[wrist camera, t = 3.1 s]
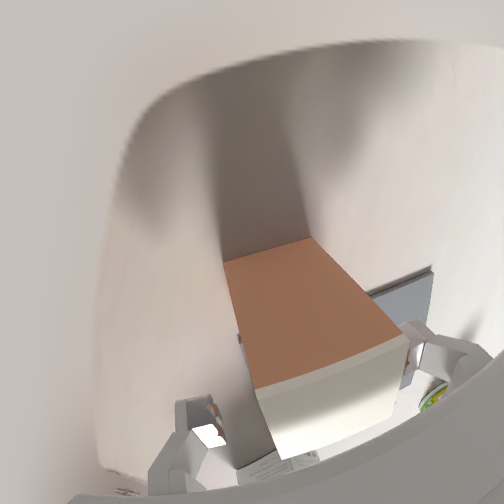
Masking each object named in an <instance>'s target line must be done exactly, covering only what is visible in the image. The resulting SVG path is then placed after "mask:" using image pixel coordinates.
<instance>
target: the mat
mask: <svg viewBox="0 0 504 504" xmlns="http://www.w3.org/2000/svg"><path fill="white" fill-rule="evenodd" d="M433 277H434V273H433V272H432V271H429V272H427V273H425V274H422V275H420V276H418V277H415V278H413V279H411V280H408V281H406V282H404V283H401V284H399V285H397V286H394V287H392V288H389V289H387V290H384V291H382V292H379V293H377V294H374V295H372V296H369V297H370V298H371V299H372V300H373V301H374V302H375V303H376V304H377V305H378V306H379V307H380V308H381V309H382V310H383V311H384V313H385V314H386V315H387V316H388V317H389V318H390V319H391V320H392V321H393V322H394V323H395V324H396V326H397V325H399V324H401V323H403V322H406V321H407V320H409V319H411V318H413V317H417V318H418V319H419V320H420V321H421V322H422V323H423V324H424V325H426V320H427V315H428V310H429V304H430V298H431V291H432V284H433ZM239 344H240V347H241V350H242V352H243V355H244V358H245V361H246V364H247V360H246V356H245V352H244V348H243V344H242V340H241V339H240V340H239ZM247 366H248V364H247ZM248 369H249V368H248ZM413 375H414V372H412V373H410V374H408V375H406V376H404V375H402V379H401V383H400V387H399V390H401V389H403V388H405V387H406V386H408V385H410V384H411V382H412V378H413Z"/></svg>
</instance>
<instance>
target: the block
mask: <svg viewBox="0 0 504 504" xmlns="http://www.w3.org/2000/svg"><path fill="white" fill-rule="evenodd" d="M223 266H224V270H225V275H226V279H227V283H228V287H229V292H230V296H231V300H232V304H233V308H234V312H235V316H236V320H237V324H238V329H239V333H240V337H241V340H242V344H243V348H244V352H245V356H246V360H247V364H248V368H249V372H250V375H251V379H252V383H253V387H254V390H255V394H256V398H257V401H258V404H259V406H260V409H261V411H262V414H263V416H264V419H265V421H266V424H267V426H268V429H269V431H270V433H271V436H272V438H273V441H274V443H275V445H276V448H277V450H278V453H279V455H280V457H281V460H283V459H287V458H290V457H293V456H297V455H300V454H303V453H306V452H309V451H312V450H315V449H318V448H321V447H323V446H326V445H329V444H331V443H334V442H337V441H339V440H342V439H344V438H346V437H349V436H351V435H354V434H356V433H358V432H361V431H363V430H365V429H367V428H369V427H372V426H374V425H376V424H378V423H380V422H382V421H384V420H386V419H388V418H390V417H391V415H392V412H393V408H394V405H395V402H396V398H397V394H398V391H399V387H400V383H401V379H402V375H403V371H404V367H405V363H406V358H407V353H408V349H409V343H410V340H409V339H408V338H407V337H406V336H405V334H404V333H403V332H402V331H401V330H400V329H399V328H398V327H397V326H396V324H395V323H394V322H393V321H392V320H391V319H390V318H389V317H388V316H387V315H386V314H385V313H384V311H383V310H382V309H381V308H380V307H379V306H378V305H377V304H376V303H375V302H374V301H373V300H372V299H371V298H370V297H369V295H368V294H367V293H366V292H365V291H364V290H363V289H362V288H361V287H360V286H359V285H358V284H357V283H356V282H355V281H354V280H353V279H352V278H351V277H350V276H349V275H348V274H347V273H346V272H345V271H344V270H343V269H342V268H341V267H340V266H339V265H338V264H337V263H336V262H335V261H334V259H333V258H332V257H331V256H330V255H329V254H328V253H326V252H325V251H324V250H323V249H322V248H321V247H320V246H319V245H318V244H317V243H316V242H315V241H314V240H313V239H312V238H311V237H310V238H306V239H303V240H299V241H296V242H292V243H289V244H285V245H282V246H278V247H275V248H271V249H268V250H264V251H261V252H257V253H254V254H250V255H247V256H243V257H240V258H236V259H233V260H229V261H226V262H223Z"/></svg>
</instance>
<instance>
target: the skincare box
mask: <svg viewBox="0 0 504 504" xmlns="http://www.w3.org/2000/svg"><path fill="white" fill-rule="evenodd" d="M317 462H320V459H319V457H318V454H317V452H316V450H312V451H309V452H306V453H303V454H300V455H297V456H293V457H290V458H287V459H283V460H281V457H280V455H279V453H278V450H277V449H276V450H275V451H273V452H271V453H270V454H268V455H266V456H264V457H263V458H261V459H259V460H257V461H256V462H254V463H252V464H250V465H248V466H246V467H243V468H241V469H239V470H237V471H236V475H237V480H238V485H241V484H245V483H250V482H254V481H258V480H262V479H266V478H270V477H273V476H277V475H280V474H284V473H287V472H290V471H294V470H297V469H300V468H303V467H306V466H309V465H312V464H314V463H317Z"/></svg>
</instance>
